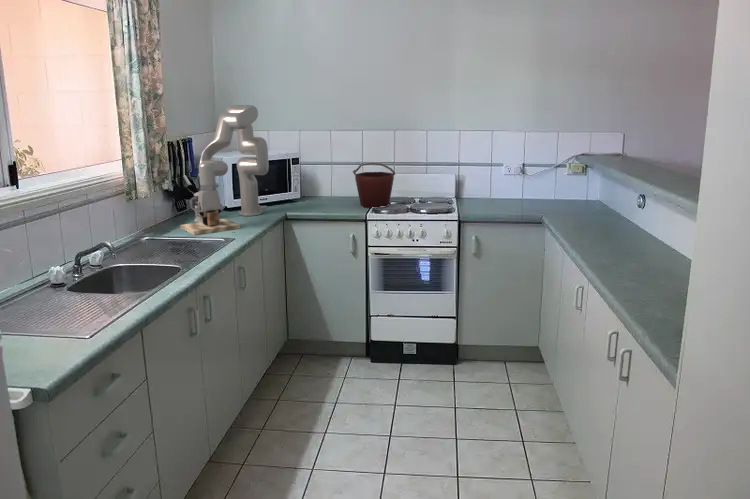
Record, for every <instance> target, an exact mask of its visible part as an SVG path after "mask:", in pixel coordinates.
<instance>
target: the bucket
mask: <svg viewBox="0 0 750 499" xmlns="http://www.w3.org/2000/svg"><path fill="white" fill-rule="evenodd" d="M369 165H376V166H382V167H384V168H386V169H387V170H390V171H391V172H387V171H386V172H385V171H365V172H360V173H357V172H358V171H359V170H360V169H361V168H362V167H363V166H369ZM352 173H353V175H354V178H355V184H356V188H357V189H356V190H357V194H358V200H359V203H360V206H361V207H362V206H363V208H364V209H373V208H372V207H380V206H387V205H388V204H389V205H390V201H391V196H392V190H393V185H394V180H395V179H394V178H395V176H396V172H395V170H393V168H392V167H390V166H388V165H385V164H383V163H380V162H379V163H378V162H370V163H369V162H368V163H362V164H360V165H359V166H358V167H357V168H356V169H353V171H352ZM389 205H388V206H389Z"/></svg>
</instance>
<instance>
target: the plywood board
mask: <svg viewBox="0 0 750 499" xmlns="http://www.w3.org/2000/svg"><path fill="white" fill-rule="evenodd" d="M179 227H180V230H182V229H183V230H182V231H184V230H185V232H186V231H187V233H188V232H189V234H190V233H191V234H190V235H192V234H193V235H192V236H199V234H200V235H206V234H213V233H218V232H225V231H226V232H227V231H231V230H237V229H241V224H240V223H237V222H235V221H232V220H230V219H227V218H219V225H215V226H208V225H204V224H203V222H192V223H191V222H190V223H185V224H179Z"/></svg>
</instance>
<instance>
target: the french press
mask: <svg viewBox="0 0 750 499" xmlns="http://www.w3.org/2000/svg"><path fill="white" fill-rule="evenodd" d="M197 176H198V177H199V173H198V174H197ZM198 194H199V191H198V192H195V193H194V194H193V197H191V198H190V200H189V202H190V204H189V206H190V208H191V209H193V208H194V209H193V211H194V213H195V218H194V220H193V222H195V223H197V222H203V220H202V216H201V215H200V214H198V213H197V212H195V210H196V209H197V207H198V200H197V201H195V205H194V206H193V200H196V197H198ZM199 211H200V212H202V210H199Z"/></svg>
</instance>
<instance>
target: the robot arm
mask: <svg viewBox="0 0 750 499" xmlns="http://www.w3.org/2000/svg"><path fill="white" fill-rule="evenodd" d="M258 116H259V111H258V109H257V107H256V106H255V105H251V104H232V105H229V106H227V107H226V110H225V112H223V113H221V114H220V115H219V117H218V121H217V125H216V128H215V133H214V137H213V139H212V141H210V143H209V144H208V145H207V146H206V147H205V148H204V149H203V151H202V153H201V155H200V158H199V164H198V174H199V176H198V177H199V185H200V187H199V189H200V190H198V192H199V194H198V196H197V201H198V207H197V209H196V210H195V209H194V210H195V211H194V213H195V212H197V213H198V214H200V215H201V216H202V218H203V223H204V225H207V217H206V213H207V211H212V210H214V211H216V212H219V215H220V214H221V213H222V211H223V210H224V209H225V207H224V206H223V204H222V203H221V200H220V195H219V191H218V189H217V188H219V184H217V183H216V177H223V176H226V174H227V173H228V172H229V171H228V170H229V166H228V164H227V163H226V162H225V161H223V160H214V159H213V160H212V158H213V157H214V156H215V155H216V154H217V153H218V152H219V151H222V150H224V149H225V148H228V147H229V146H230V145H231V143H232V139H233V135H234V131H235V130H236V133H237V134H236V135H237V147H238V148H237V149H238V151H239V153H240V154H241V155H248V156H242V157H240V158H239V159H237V161H236V170H237V172H238V179H239V189H240V190H239V191H240V194H239V195H240V205H241V206H240V207H241V209H240V210H241V211H239V212H238V215H239V216H241V217H242V216H243V217H253V216H254V217H256V216H259V215H262V213H263V210H267V209H268V207H267V205H260V204H259V202H260V201H259V188H258V187H259V186H258V179H257V178H256V177H255V176H265V175H267V174H268V172H269V166H270V164H269V148H268V143H267V140H266V139H265V138H263V137H260V136H254V129H253V125H252V124H253V123H255V122H256V120H257V119H258ZM249 155H252V156H249ZM255 156H256V157H255ZM199 210H202V212H201V211H199ZM197 213H196V214H197Z"/></svg>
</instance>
